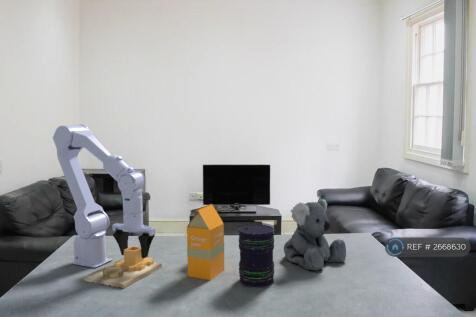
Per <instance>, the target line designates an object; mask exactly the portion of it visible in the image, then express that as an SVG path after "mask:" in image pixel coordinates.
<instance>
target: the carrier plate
mask: <svg viewBox="0 0 476 317" xmlns="http://www.w3.org/2000/svg"><path fill="white" fill-rule="evenodd" d="M122 260H124V257H123V258H121V259H119V260H117V261H122ZM117 261H115V262H117ZM115 262H112V263H110V264H108V265H106V266H104V267H102V268H100V269H99V268H98V270H95V271H93V272H91V273H89V274H87V275H85V276H83V281H84V282H88V283H93V282H94V284H98V285H103V284H104V285H103V286H109V285H111V286H110V287H114V286H115V287H114V288H119V287H121V288H120V289H126V288H127V287H129V286H131V285H132V284H135V283H136V282H138V281H140V280H142V279H144V278H145V277H147V276H149V275H150V274H152V273H154V272H156V271H157V270H159V269H161V268H162V263H161V262H156V261H154V264H152V265H147V266H145V269H143V270H138V271H136V270H134V271H128V269H124V268H122V267H115Z"/></svg>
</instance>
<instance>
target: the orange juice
mask: <svg viewBox="0 0 476 317" xmlns="http://www.w3.org/2000/svg"><path fill="white" fill-rule="evenodd" d="M224 223H225V222H223V220H222V218H221V217H220V215H219V213H218V211H217V210H216V209H215V206H214V205H213V204H212V203H210V204H208V205H206V206H203V207H200V208H199V209H197V210H196V212H195V214H194V215H193V216H192V218H191V219H190V221H189V223H188V225H187V226H186V244H187V248H186V249H187V250H186V251H187V252H186V255H187V256H186V257H187V277H188V278H190V277H191V278H196V279H202V280H208V281H211V280H213V279H214V278H216V277H217V276H218V275H220V274H221V273H223V272H224V271H225V224H224Z"/></svg>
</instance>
